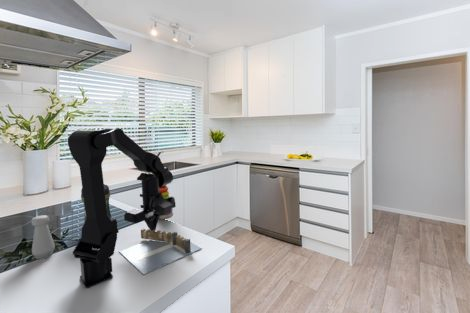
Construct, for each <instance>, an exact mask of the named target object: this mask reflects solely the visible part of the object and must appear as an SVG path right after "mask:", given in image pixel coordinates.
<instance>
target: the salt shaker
mask: <svg viewBox="0 0 470 313" xmlns="http://www.w3.org/2000/svg"><path fill="white" fill-rule="evenodd" d="M49 222H50V218H49V216H48V215H46V214H44V215H43V214H42V215H37V216H35V217H33V218H32V219H31V226H32V227H34V228H33V229H34V231H33V237H32V246H31V254H32V256H34V258H35V259H36V260H43V259H46V258H50V256H52V254H54V250H55V248H56V246H55V242H54V239H53V237H52V234H51V231H50V228H49V225H48V224H49Z"/></svg>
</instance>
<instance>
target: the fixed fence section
mask: <svg viewBox="0 0 470 313" xmlns="http://www.w3.org/2000/svg"><path fill="white" fill-rule="evenodd" d="M172 232H173V233H172ZM172 232H171V233H172V244H173V245H177V246H179V247H181V248H182V249H184V250H185V252H186V253H190V252H191V246H190V242H191V239H190V238H185V237H184V236H181V235H180V234H178V232H177V231H172Z"/></svg>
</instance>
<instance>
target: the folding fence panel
mask: <svg viewBox="0 0 470 313" xmlns="http://www.w3.org/2000/svg"><path fill="white" fill-rule="evenodd" d="M161 231H162V230H157V231H156V230H152V231H150V229H149V228H147V229H146V228H140V238H141V239H143V240H148V241H149V240H155V241H162V242H169V243H171V242H172V234H171V233H172V232H170V231H168V232H167V231H162V232H161Z"/></svg>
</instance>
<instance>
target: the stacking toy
mask: <svg viewBox="0 0 470 313" xmlns="http://www.w3.org/2000/svg"><path fill="white" fill-rule="evenodd" d="M168 190H169V186H167V185H164V186H162V187H159V192H161V193H162V196H163V198H167V199H168V198H169V197H171V196H170V192H169V191H168ZM173 211H174V209H173V208H172V209H171V212H170V213H166V214H165V215H161V216H160V217H159V220H168V219H170V218H172V217H173V216H174V212H173Z"/></svg>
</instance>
